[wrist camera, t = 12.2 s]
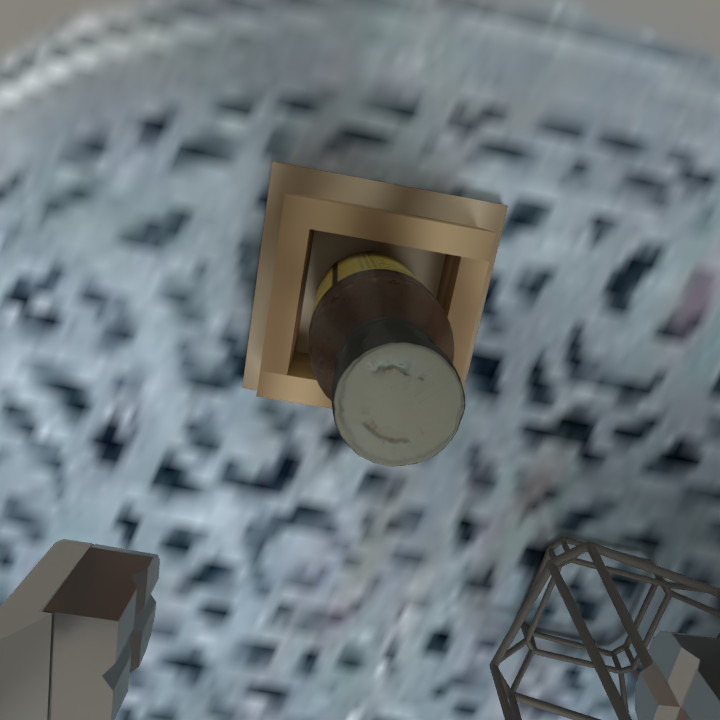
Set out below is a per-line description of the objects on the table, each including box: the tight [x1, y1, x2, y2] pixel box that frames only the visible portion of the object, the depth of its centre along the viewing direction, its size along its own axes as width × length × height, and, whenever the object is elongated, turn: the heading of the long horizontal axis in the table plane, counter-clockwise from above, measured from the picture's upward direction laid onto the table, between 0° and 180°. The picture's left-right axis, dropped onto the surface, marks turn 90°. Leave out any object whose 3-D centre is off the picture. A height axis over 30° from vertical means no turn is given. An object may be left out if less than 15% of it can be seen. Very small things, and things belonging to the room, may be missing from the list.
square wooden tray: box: [242, 161, 508, 409], centre depth 35 cm, size 14×14×6 cm
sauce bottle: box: [308, 251, 465, 467], centre depth 27 cm, size 6×6×20 cm
